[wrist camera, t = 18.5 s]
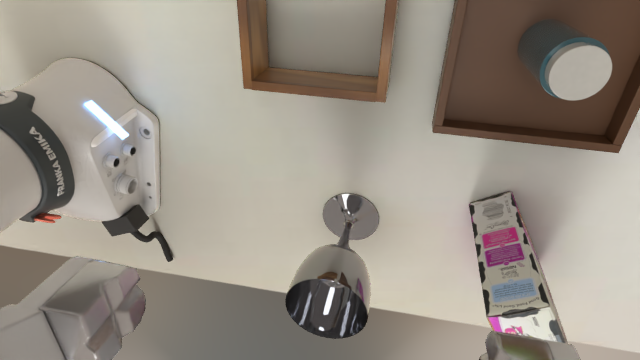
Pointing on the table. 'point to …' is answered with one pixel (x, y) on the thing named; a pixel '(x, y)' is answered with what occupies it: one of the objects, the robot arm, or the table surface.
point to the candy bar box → (512, 272)
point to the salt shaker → (564, 60)
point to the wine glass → (335, 274)
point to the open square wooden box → (308, 82)
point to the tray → (522, 88)
